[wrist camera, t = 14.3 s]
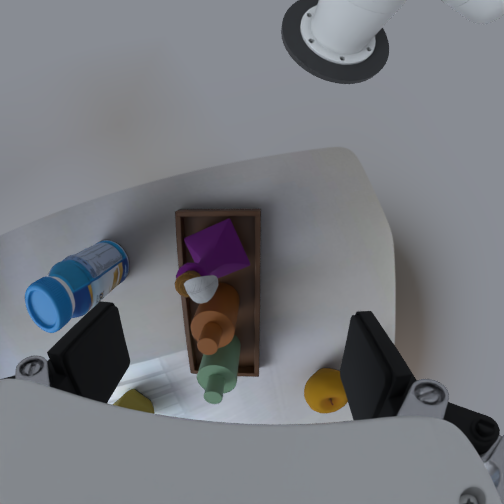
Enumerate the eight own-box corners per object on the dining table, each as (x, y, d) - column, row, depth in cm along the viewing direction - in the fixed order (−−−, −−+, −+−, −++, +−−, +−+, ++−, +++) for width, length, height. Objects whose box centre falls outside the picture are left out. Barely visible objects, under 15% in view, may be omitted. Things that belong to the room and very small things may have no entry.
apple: (334, 393, 53) (342, 423, 44) (294, 388, 52) (298, 420, 44) (352, 361, 50) (365, 390, 42) (310, 354, 50) (318, 385, 41)
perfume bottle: (208, 276, 46) (180, 334, 28) (188, 233, 44) (145, 272, 27) (251, 258, 45) (245, 312, 27) (232, 214, 43) (212, 242, 26)
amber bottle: (202, 282, 46) (181, 324, 32) (239, 282, 46) (231, 326, 32) (204, 314, 48) (186, 364, 34) (240, 315, 47) (232, 366, 34)
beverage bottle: (122, 233, 45) (48, 271, 25) (137, 279, 47) (76, 338, 28) (86, 244, 45) (11, 283, 26) (101, 287, 48) (37, 341, 28)
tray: (179, 209, 43) (174, 211, 41) (260, 208, 43) (260, 210, 41) (193, 365, 51) (190, 373, 49) (258, 368, 51) (258, 376, 49)
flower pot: (163, 402, 55) (152, 431, 46) (144, 416, 57) (133, 442, 48) (131, 379, 53) (116, 406, 45) (115, 394, 55) (100, 419, 46)
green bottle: (206, 329, 48) (189, 380, 35) (240, 330, 48) (233, 383, 35) (208, 356, 50) (194, 409, 36) (241, 358, 50) (235, 412, 36)
